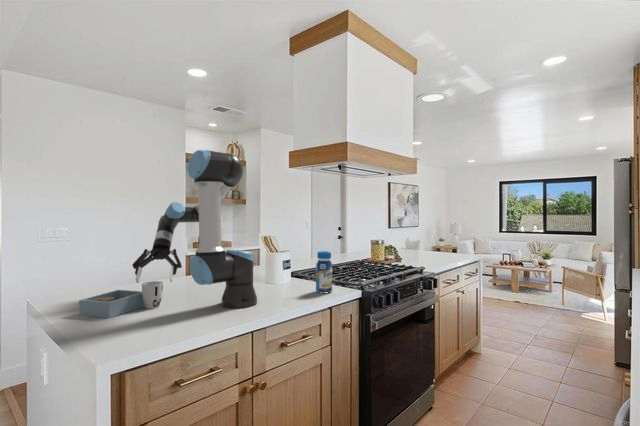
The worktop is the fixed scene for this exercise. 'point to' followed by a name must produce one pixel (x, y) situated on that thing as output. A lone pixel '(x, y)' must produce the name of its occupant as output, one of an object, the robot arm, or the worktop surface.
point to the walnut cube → (105, 299)
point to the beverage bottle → (324, 272)
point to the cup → (152, 294)
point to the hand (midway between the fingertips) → (154, 280)
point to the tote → (111, 304)
